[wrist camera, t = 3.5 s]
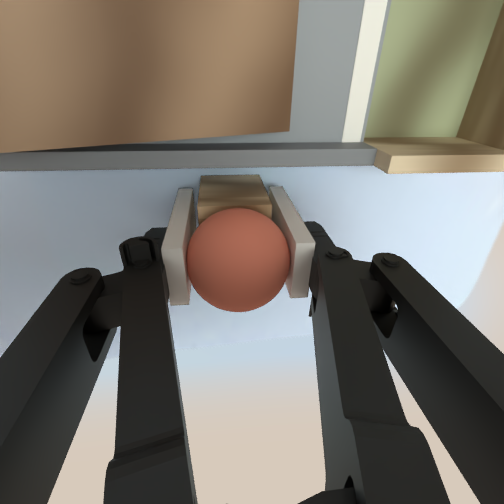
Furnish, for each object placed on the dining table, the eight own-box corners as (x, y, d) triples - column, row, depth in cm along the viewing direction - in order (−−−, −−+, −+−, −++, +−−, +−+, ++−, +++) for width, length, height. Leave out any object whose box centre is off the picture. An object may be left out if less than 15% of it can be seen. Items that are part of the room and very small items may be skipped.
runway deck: (19, 154, 16) (-20, 171, 13) (-111, -186, 10) (-228, -278, 7) (349, 150, 17) (373, 165, 15) (401, -138, 12) (455, -198, 9)
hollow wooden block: (204, 228, 19) (202, 269, 15) (200, 175, 17) (197, 206, 13) (257, 226, 19) (268, 265, 15) (259, 174, 18) (272, 204, 14)
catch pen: (349, 150, 17) (387, 173, 14) (401, -138, 12) (492, -238, 8) (459, 149, 18) (525, 171, 14) (560, -123, 12) (713, -209, 9)
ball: (193, 274, 16) (187, 338, 12) (185, 193, 13) (174, 242, 10) (276, 270, 16) (295, 331, 12) (282, 191, 14) (308, 237, 10)
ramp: (-6, 128, 14) (-129, 161, 9) (-116, -142, 9) (-472, -371, 5) (285, 128, 15) (320, 156, 10) (301, -109, 11) (373, -257, 6)
